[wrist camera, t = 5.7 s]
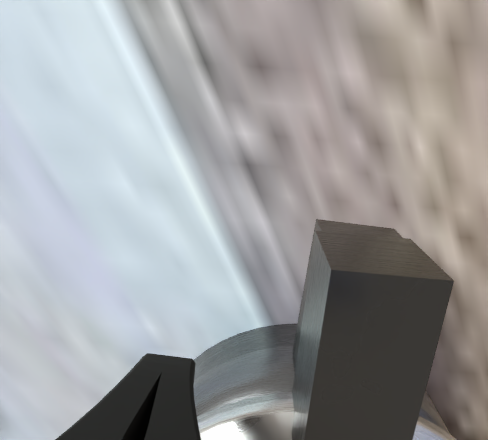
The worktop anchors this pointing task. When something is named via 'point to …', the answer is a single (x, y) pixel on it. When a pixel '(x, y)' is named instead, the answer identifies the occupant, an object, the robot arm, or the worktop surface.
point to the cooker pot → (269, 353)
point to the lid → (354, 349)
